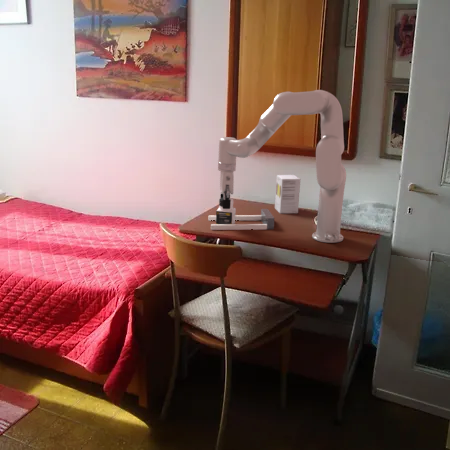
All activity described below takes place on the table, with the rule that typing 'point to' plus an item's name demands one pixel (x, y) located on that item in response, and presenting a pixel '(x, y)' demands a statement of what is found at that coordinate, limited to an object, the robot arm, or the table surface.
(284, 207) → the supplement box
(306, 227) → the table surface
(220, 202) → the medicine bottle
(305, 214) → the table surface
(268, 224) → the end stop
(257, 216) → the guide rails
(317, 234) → the robot arm
